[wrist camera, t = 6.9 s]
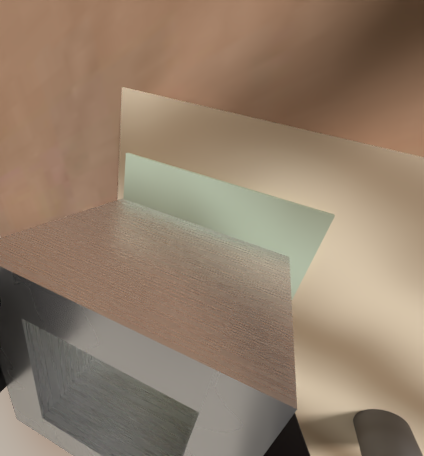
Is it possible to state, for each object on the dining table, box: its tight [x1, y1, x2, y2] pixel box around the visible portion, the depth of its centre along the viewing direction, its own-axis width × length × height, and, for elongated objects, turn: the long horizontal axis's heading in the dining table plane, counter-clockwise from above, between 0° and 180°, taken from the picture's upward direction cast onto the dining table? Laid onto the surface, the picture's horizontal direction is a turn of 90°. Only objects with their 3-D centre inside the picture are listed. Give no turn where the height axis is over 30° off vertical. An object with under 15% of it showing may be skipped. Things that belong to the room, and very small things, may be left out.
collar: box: [0, 199, 297, 456], centre depth 7 cm, size 6×6×4 cm
